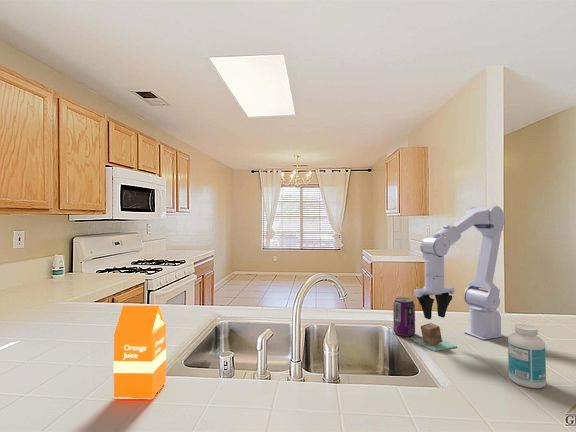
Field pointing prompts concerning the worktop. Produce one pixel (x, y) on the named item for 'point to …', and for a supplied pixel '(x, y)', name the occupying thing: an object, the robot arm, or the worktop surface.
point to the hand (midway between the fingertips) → (434, 317)
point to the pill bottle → (527, 357)
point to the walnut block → (431, 334)
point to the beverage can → (404, 316)
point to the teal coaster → (436, 345)
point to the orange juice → (139, 352)
